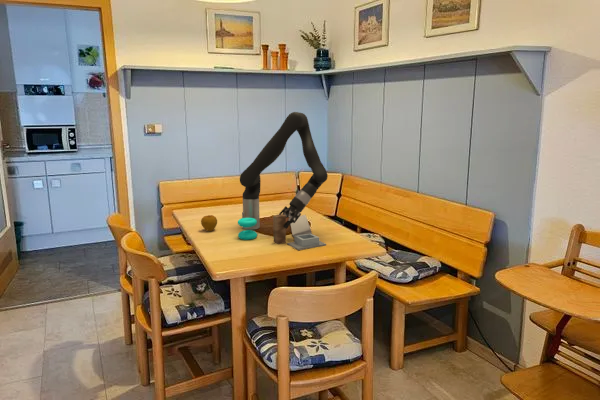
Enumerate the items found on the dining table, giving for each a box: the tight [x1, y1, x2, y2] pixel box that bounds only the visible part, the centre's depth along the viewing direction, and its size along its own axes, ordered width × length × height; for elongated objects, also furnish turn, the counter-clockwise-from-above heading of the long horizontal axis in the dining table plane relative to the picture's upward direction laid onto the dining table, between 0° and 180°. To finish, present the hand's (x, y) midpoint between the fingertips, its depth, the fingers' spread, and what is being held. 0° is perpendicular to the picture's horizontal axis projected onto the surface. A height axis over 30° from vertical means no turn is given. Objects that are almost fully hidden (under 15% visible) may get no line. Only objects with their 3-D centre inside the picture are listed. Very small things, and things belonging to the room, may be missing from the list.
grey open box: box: [286, 233, 327, 251], centre depth 228 cm, size 16×11×4 cm
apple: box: [200, 214, 218, 232], centre depth 254 cm, size 9×9×9 cm
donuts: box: [237, 217, 258, 241], centre depth 240 cm, size 10×10×10 cm
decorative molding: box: [289, 214, 313, 238], centre depth 258 cm, size 34×5×10 cm
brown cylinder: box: [272, 213, 287, 245], centre depth 231 cm, size 5×4×14 cm
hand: (280, 225), depth 231 cm, fingers open, 8 cm apart
